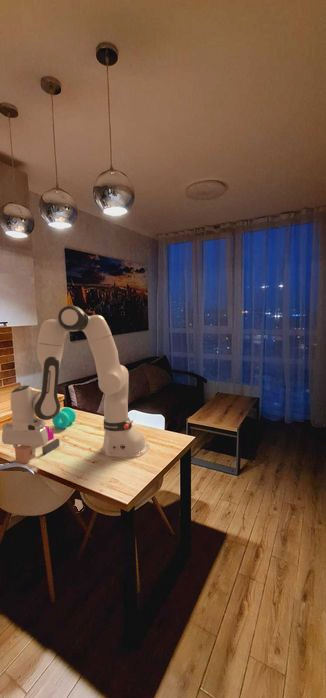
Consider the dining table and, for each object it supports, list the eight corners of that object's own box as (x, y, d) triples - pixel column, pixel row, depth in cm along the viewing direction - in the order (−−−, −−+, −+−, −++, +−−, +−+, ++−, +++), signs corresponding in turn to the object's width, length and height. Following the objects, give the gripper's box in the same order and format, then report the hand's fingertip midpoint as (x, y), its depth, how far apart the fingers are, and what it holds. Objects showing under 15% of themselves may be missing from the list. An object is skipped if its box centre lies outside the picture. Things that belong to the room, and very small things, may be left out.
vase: (72, 507, 219) (71, 495, 218) (82, 504, 222) (82, 492, 221) (74, 513, 212) (73, 500, 211) (85, 510, 216) (84, 497, 215)
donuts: (51, 429, 164) (50, 411, 163) (61, 422, 174) (60, 406, 173) (67, 430, 162) (66, 412, 161) (77, 423, 172) (76, 407, 171)
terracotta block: (35, 456, 132) (34, 444, 131) (25, 463, 126) (24, 449, 125) (26, 455, 133) (25, 442, 133) (16, 461, 128) (14, 448, 127)
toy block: (53, 438, 151) (52, 424, 151) (44, 443, 146) (43, 429, 145) (32, 434, 157) (31, 421, 156) (22, 439, 152) (21, 425, 151)
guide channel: (59, 445, 143) (59, 438, 142) (44, 455, 133) (44, 447, 133) (42, 442, 146) (41, 436, 146) (26, 451, 137) (26, 444, 136)
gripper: (-3, 425, 127) (-1, 455, 128) (40, 427, 123) (43, 458, 125) (7, 420, 133) (9, 449, 134) (48, 421, 130) (50, 451, 131)
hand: (26, 453), depth 130 cm, fingers closed on terracotta block, 5 cm apart
